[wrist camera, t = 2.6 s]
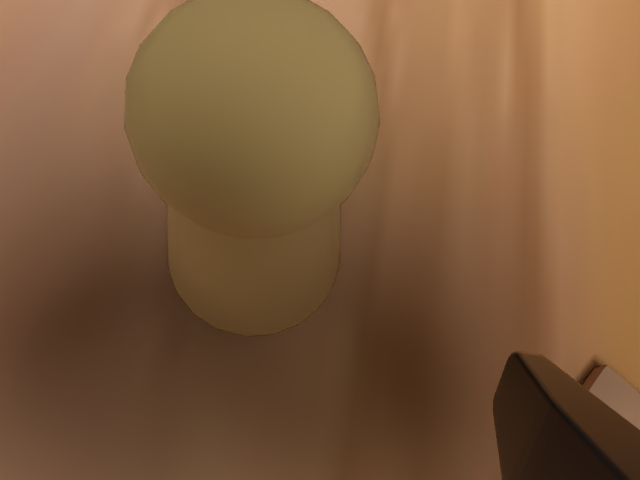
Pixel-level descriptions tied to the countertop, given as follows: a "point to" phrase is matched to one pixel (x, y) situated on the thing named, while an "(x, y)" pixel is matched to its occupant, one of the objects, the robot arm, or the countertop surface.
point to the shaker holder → (615, 393)
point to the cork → (252, 152)
